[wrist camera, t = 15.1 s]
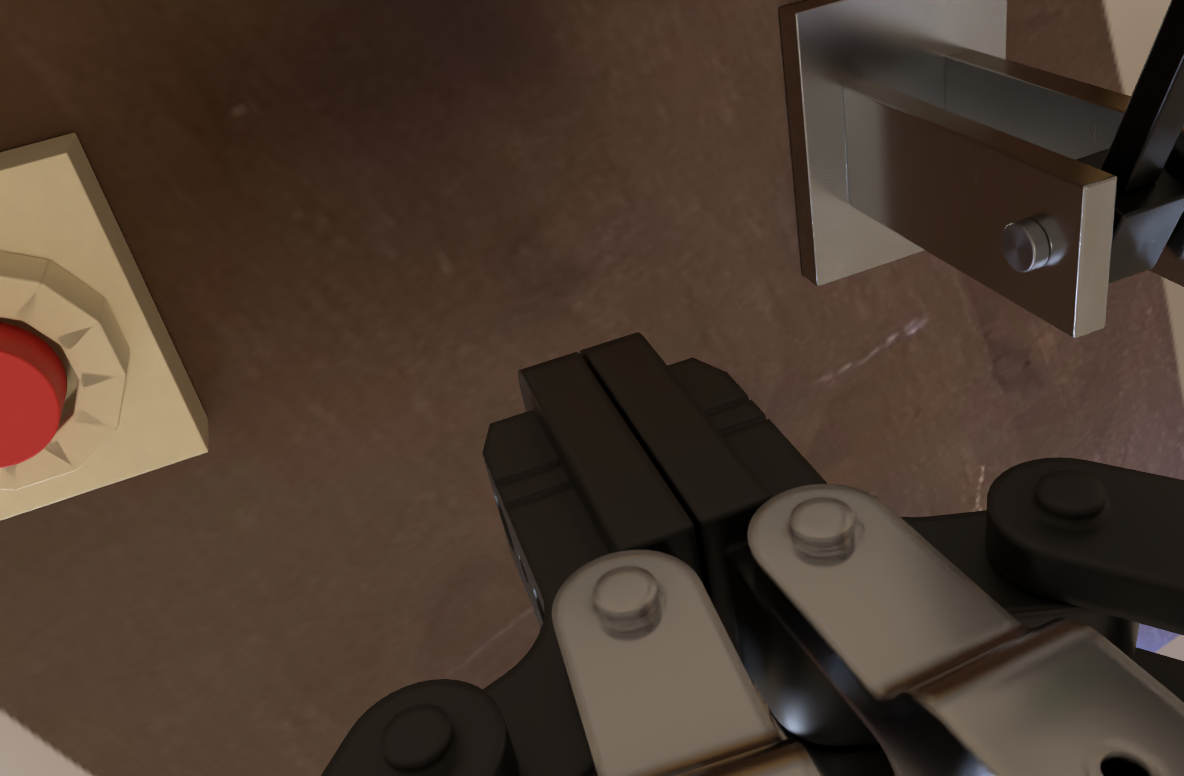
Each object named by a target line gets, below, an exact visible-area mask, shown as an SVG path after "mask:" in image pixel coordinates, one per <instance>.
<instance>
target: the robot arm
mask: <svg viewBox="0 0 1184 776" xmlns="http://www.w3.org/2000/svg"><path fill="white" fill-rule="evenodd" d="M518 378H519V384H520V388H521V392H522V396H523V400H524V404H525V408H526V412H525V413H522V414H519V415H516V416H513V417H510V418H507V419H503V420H500V421H497V422H494V423H491V424H490V426H489V430H488V433H487V437H486V441H485V445H484V449H483V453H482V454H483V457H484V461H485V464H486V468H487V471H488V475H489V478H490V482H491V485H492V489H493V492H494V496H495V499H496V503H497V506H498V510H499V513H500V517H501V520H502V524H503V527H504V531H505V534H506V538H507V541H508V545H509V548H510V552H511V554H512V557H513V559H514V562H515V564H516V567H517V569H518V572H519V574H520V577H521V579H522V582H523V583H524V586H525V589H526V592H527V594H528V597H529V599H530V602H531V604H532V606H533V608H534V611H535V614H536V616H537V619H538V621H539V624H540V626H541V630H540V633H539V635H538V637H537V639H536V641H535V643H534V645H533V646H532V647H531V649H530V650H529V651H528V653H527V654H526V655H525V656H524V657H523V658H522V660H521V661H520V662H519V663H518V664H517V665H516V666H514V667H513V668H512V669H511V670H509V671H508V672H507V673H506V674H504V675H503V676H502V677H500V678H499V679H497V680H496V681H494V682H493V683H492V684H490V685H489V686H487V687H486V688H484V689H483V690H482V689H481V688H479V687H477V686H474V685H472V684H470V683H466V682H463V681H459V680H449V679H439V680H429V681H424V682H418V683H415V684H412V685H409V686H406V687H403V688H401V689H399V690H397V691H395V692H393V693H391V694H389V695H388V696H386V697H384V698H383V699H381V700H380V701H378V702H377V703H376V704H374V705H373V706H372V707H371V708H369V709H368V710H367V711H366V712H365V713H364V714H363V715H362V716H361V717H360V718H359V719H358V720H357V722H356V723H355V724H354V726H353V727H352V728H351V730H350V731H349V732H348V734H347V736H346V737H345V739H344V740H343V742H342V743H341V745H340V747H339V748H338V750H337V751H336V753H335V755H334V756H333V758H332V759H331V761H330V762H329V764H328V766H327V767H326V769H325V770H324V772H323V773H322V775H321V776H1184V661H1181V660H1177V659H1174V658H1171V657H1167V656H1164V655H1160V654H1157V653H1153V652H1150V651H1147V650H1143V649H1140V648H1136V641H1137V635H1138V628H1139V623H1141V624H1145V625H1148V626H1152V627H1155V628H1159V629H1163V630H1166V631H1170V632H1174V633H1177V634H1181V635H1184V480H1180V479H1175V478H1170V477H1165V476H1160V475H1156V474H1151V473H1146V472H1141V471H1136V470H1131V469H1126V468H1121V467H1117V466H1112V465H1107V464H1102V463H1097V462H1092V461H1087V460H1081V459H1074V458H1044V459H1037V460H1032V461H1028V462H1024V463H1021V464H1018V465H1016V466H1014V467H1011V468H1010V469H1008V470H1006V471H1005V472H1003V473H1002V474H1001V475H1000V476H998V477H997V478H996V479H995V481H994V482H993V483H992V485H991V486H990V489H989V492H988V496H987V510H986V511H977V512H967V513H958V514H949V515H940V516H930V517H900V516H899V515H898V514H896V513H895V512H894V511H893V510H892V509H891V508H890V507H889V506H887V505H886V504H885V503H884V502H882V501H881V500H880V499H878V498H877V497H875V496H873V495H871V494H869V493H867V492H865V491H862V490H859V489H857V488H853V487H848V486H844V485H835V484H827V483H826V481H825V480H824V479H823V478H822V477H821V476H820V475H819V474H818V473H817V472H816V470H815V469H814V468H813V467H812V466H811V465H810V464H809V463H808V462H807V460H806V459H805V458H804V457H803V456H802V455H801V454H800V453H799V452H798V451H797V449H796V448H795V447H794V446H793V445H792V444H791V443H790V442H789V441H788V439H787V438H786V437H785V436H784V435H783V434H782V433H781V432H780V431H779V429H778V428H777V427H776V426H775V425H774V424H773V423H772V422H771V421H770V420H769V419H768V420H767V419H766V417H765V414H764V413H763V412H762V411H761V410H760V408H759V407H758V406H757V405H756V404H755V403H754V402H753V401H752V400H750V401H749V399H748V395H747V394H746V393H745V392H744V391H743V390H742V389H741V387H740V386H739V385H738V384H737V383H736V382H735V381H734V380H733V379H732V377H731V376H730V375H729V374H728V373H727V372H725V371H722V370H720V369H718V368H716V367H713V366H711V365H709V364H706V363H704V362H702V361H699V360H697V359H695V358H690V359H687V360H684V361H681V362H678V363H675V364H671V365H668V366H667V365H666V364H665V362H664V361H663V360H662V359H661V357H660V356H659V355H658V354H657V352H656V351H655V350H654V349H653V348H652V346H651V345H650V344H649V343H648V341H647V340H646V339H645V338H644V336H643V335H642V334H640V333H638V332H637V333H634V334H630V335H627V336H624V337H621V338H618V339H615V340H612V341H608V342H605V343H602V344H599V345H596V346H593V347H590V348H586V349H583V350H581V351H580V353H578V352H575V353H571V354H568V355H565V356H562V357H559V358H556V359H553V360H549V361H546V362H543V363H540V364H537V365H534V366H531V367H527V368H524V369H521V370H519V371H518ZM754 684H755V686H756V687H757V689H758V690H759V692H760V694H761V695H762V697H763V699H764V700H765V702H766V703H767V705H768V711H769V716H768V714H767V712H766V710H765V708H764V706H763V704H762V702H761V700H760V698H759V696H758V694H757V692H756V690H755V688H754V686H753V685H754Z"/></svg>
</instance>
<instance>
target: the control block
mask: <svg viewBox="0 0 1184 776" xmlns="http://www.w3.org/2000/svg"><path fill="white" fill-rule="evenodd" d="M0 322H1V323H6V324H11V325H14V326H17V327H20V328H23V329H25V330H27V331H29V332H31V333H33V334H35V335H36V336H38V337H39V338H41V339H42V340H43V341H45V342H46V343H47V344H48V345H49V346H50V347H51V348H52V349H53V350H54V352H55V353H56V354H57V356H58V357H59V359H60V360H61V362H62V364H63V367H64V369H65V373H66V377H67V393H66V397H65V401H64V406H63V410H62V414H61V418H60V422H59V426H58V429H57V431H56V434H55V435H54V437H53V439H52V440H51V441H50V443H49V444H48V445H47V446H46V447H45V448H44V449H43V450H42V451H41V452H39V453H38V454H37V455H35V456H34V457H32V458H30V459H28V460H26V461H24V462H22V463H19V464H16V465H13V466H9V467H5V468H0V520H3V519H6V518H9V517H12V516H15V515H18V514H21V513H24V512H28V511H31V510H34V509H37V508H40V507H43V506H46V505H49V504H52V503H55V502H58V501H61V500H64V499H67V498H70V497H73V496H76V495H79V494H82V493H85V492H88V491H91V490H94V489H97V488H100V487H103V486H106V485H109V484H112V483H115V482H118V481H121V480H124V479H128V478H131V477H134V476H137V475H140V474H143V473H146V472H149V471H152V470H155V469H158V468H161V467H164V466H167V465H170V464H173V463H176V462H179V461H182V460H185V459H188V458H191V457H194V456H197V455H200V454H203V453H206V452H208V418H207V416H206V413H205V411H204V409H203V407H202V405H201V403H200V400H199V398H198V396H197V394H196V392H195V390H194V387H193V385H192V383H191V381H190V379H189V377H188V375H187V372H186V370H185V368H184V366H183V364H182V362H181V359H180V357H179V355H178V353H177V351H176V349H175V347H174V344H173V342H172V340H171V338H170V336H169V334H168V331H167V329H166V327H165V325H164V323H163V321H162V319H161V316H160V314H159V312H158V310H157V308H156V306H155V303H154V301H153V299H152V297H151V295H150V293H149V290H148V288H147V286H146V284H145V282H144V280H143V278H142V275H141V273H140V271H139V269H138V267H137V265H136V262H135V260H134V258H133V256H132V254H131V252H130V250H129V247H128V245H127V243H126V241H125V239H124V237H123V234H122V232H121V230H120V228H119V226H118V224H117V221H116V219H115V217H114V215H113V213H112V211H111V209H110V206H109V204H108V202H107V200H106V198H105V196H104V193H103V191H102V189H101V187H100V185H99V183H98V181H97V178H96V176H95V174H94V172H93V170H92V168H91V165H90V163H89V161H88V159H87V157H86V155H85V153H84V150H83V148H82V146H81V144H80V142H79V140H78V137H77V135H76V134H75V133H71V134H67V135H63V136H59V137H56V138H52V139H48V140H45V141H41V142H37V143H33V144H30V145H26V146H22V147H19V148H15V149H11V150H7V151H4V152H0Z"/></svg>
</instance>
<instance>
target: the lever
mask: <svg viewBox="0 0 1184 776" xmlns="http://www.w3.org/2000/svg"><path fill="white" fill-rule="evenodd" d="M1183 126H1184V0H1171V3H1170V6H1169V8H1168V10H1167V12H1166V15H1165V17H1164V19H1163V22H1162V24H1161V27H1160V29H1159V32H1158V34H1157V36H1156V39H1155V41H1154V43H1153V46H1152V48H1151V51H1150V53H1149V55H1148V58H1147V60H1146V63H1145V65H1144V68H1143V70H1142V72H1141V74H1140V77H1139V79H1138V82H1137V84H1136V86H1135V89H1134V91H1133V94H1132V96H1131V98H1130V101H1129V103H1128V106H1127V108H1126V110H1125V113H1124V115H1123V118H1122V120H1121V122H1120V125H1119V127H1118V130H1117V132H1116V134H1115V137H1114V139H1113V141H1112V144H1111V146H1110V148H1109V149H1106V150H1103V151H1100V152H1097V153H1094V154H1091V155H1088V156H1085V157H1082V158H1078V159H1075V160H1077V161H1080V162H1082V163H1085V164H1087V165H1090V166H1093V167H1095V168H1098V169H1100V170H1103V171H1106V172H1108V173H1111V174H1113V175H1116V176H1117V188H1116V200H1115V212H1114V223H1113V235H1112V247H1111V258H1110V270H1109V282H1108V284H1109V283H1112V282H1115V281H1118V280H1121V279H1123V278H1126V277H1129V276H1132V275H1135V274H1137V273H1140V272H1143V271H1146V270H1149V269H1151V268H1153V267H1154V266H1155V264H1156V262H1157V260H1158V258H1159V256H1160V255H1161V253H1162V251H1163V249H1164V247H1165V245H1166V243H1167V241H1168V239H1169V237H1170V235H1171V233H1172V231H1173V230H1174V228H1175V226H1176V224H1177V222H1178V220H1179V218H1180V216H1181V214H1182V212H1183V210H1184V186H1183V185H1182V184H1181V183H1180V182H1179V181H1178V180H1176V179H1175V178H1174V177H1173V176H1172V175H1171V174H1170V173H1168V172H1167V171H1166V170H1165V169H1164V166H1165V164H1166V162H1167V160H1168V157H1169V155H1170V153H1171V151H1172V149H1173V147H1174V145H1175V143H1176V141H1177V139H1178V137H1179V134H1180V132H1181V130H1182V128H1183Z"/></svg>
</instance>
